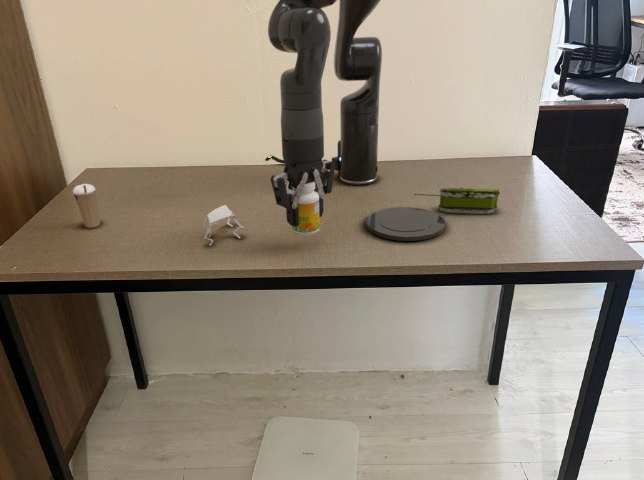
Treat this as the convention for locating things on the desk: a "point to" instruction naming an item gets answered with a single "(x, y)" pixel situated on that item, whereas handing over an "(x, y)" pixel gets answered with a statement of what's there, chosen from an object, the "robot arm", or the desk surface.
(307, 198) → the supplement bottle
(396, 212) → the plate
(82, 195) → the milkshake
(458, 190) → the toy tank
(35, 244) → the desk surface
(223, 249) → the desk surface
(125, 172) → the desk surface
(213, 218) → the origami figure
